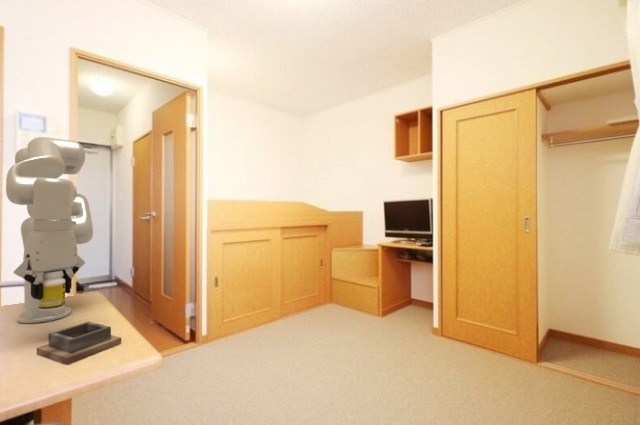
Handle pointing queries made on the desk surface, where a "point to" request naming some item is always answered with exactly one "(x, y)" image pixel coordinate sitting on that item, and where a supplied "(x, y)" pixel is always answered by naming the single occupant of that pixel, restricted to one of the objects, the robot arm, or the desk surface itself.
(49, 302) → the supplement bottle
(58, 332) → the socket stand
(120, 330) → the desk surface
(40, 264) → the robot arm
